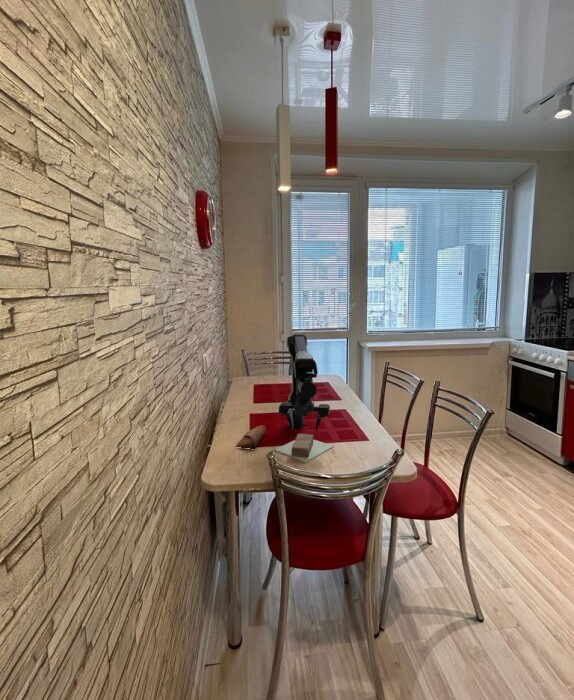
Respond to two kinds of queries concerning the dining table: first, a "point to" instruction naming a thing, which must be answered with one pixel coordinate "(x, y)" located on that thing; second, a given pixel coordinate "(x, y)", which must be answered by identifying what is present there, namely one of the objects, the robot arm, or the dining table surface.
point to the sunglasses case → (252, 437)
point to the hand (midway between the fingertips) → (304, 430)
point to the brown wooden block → (302, 445)
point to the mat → (315, 451)
